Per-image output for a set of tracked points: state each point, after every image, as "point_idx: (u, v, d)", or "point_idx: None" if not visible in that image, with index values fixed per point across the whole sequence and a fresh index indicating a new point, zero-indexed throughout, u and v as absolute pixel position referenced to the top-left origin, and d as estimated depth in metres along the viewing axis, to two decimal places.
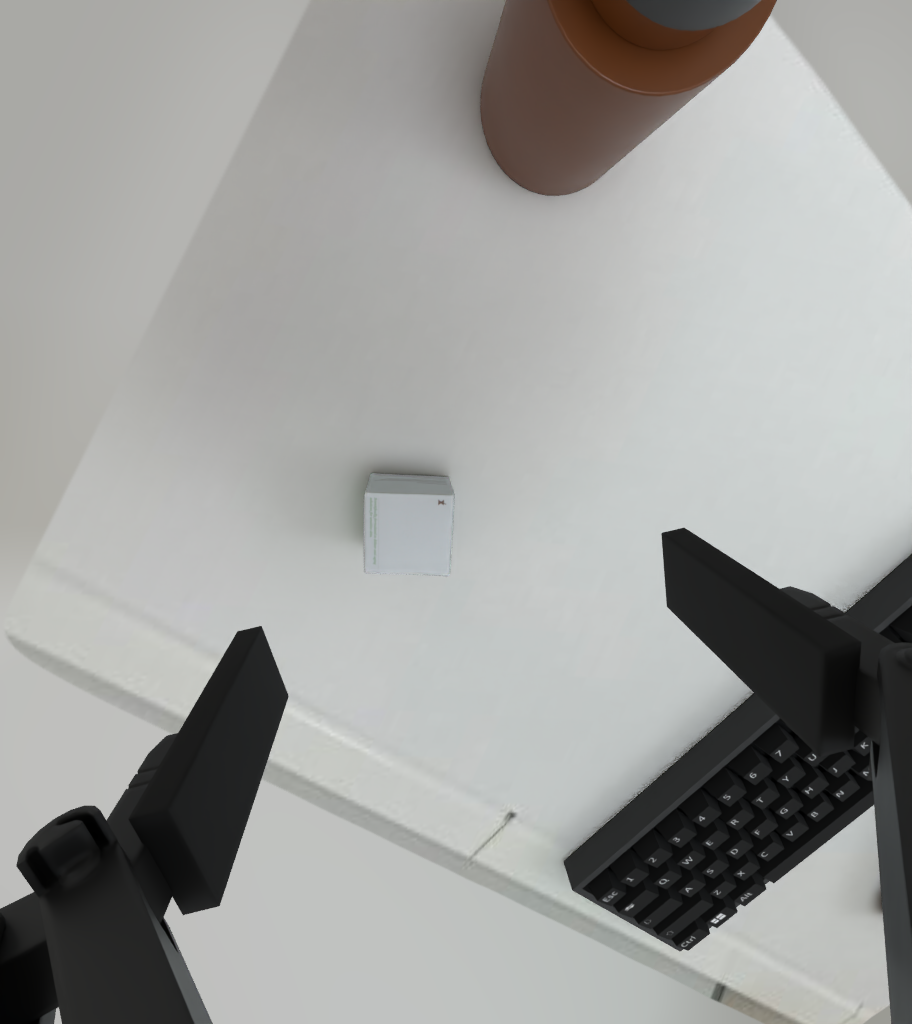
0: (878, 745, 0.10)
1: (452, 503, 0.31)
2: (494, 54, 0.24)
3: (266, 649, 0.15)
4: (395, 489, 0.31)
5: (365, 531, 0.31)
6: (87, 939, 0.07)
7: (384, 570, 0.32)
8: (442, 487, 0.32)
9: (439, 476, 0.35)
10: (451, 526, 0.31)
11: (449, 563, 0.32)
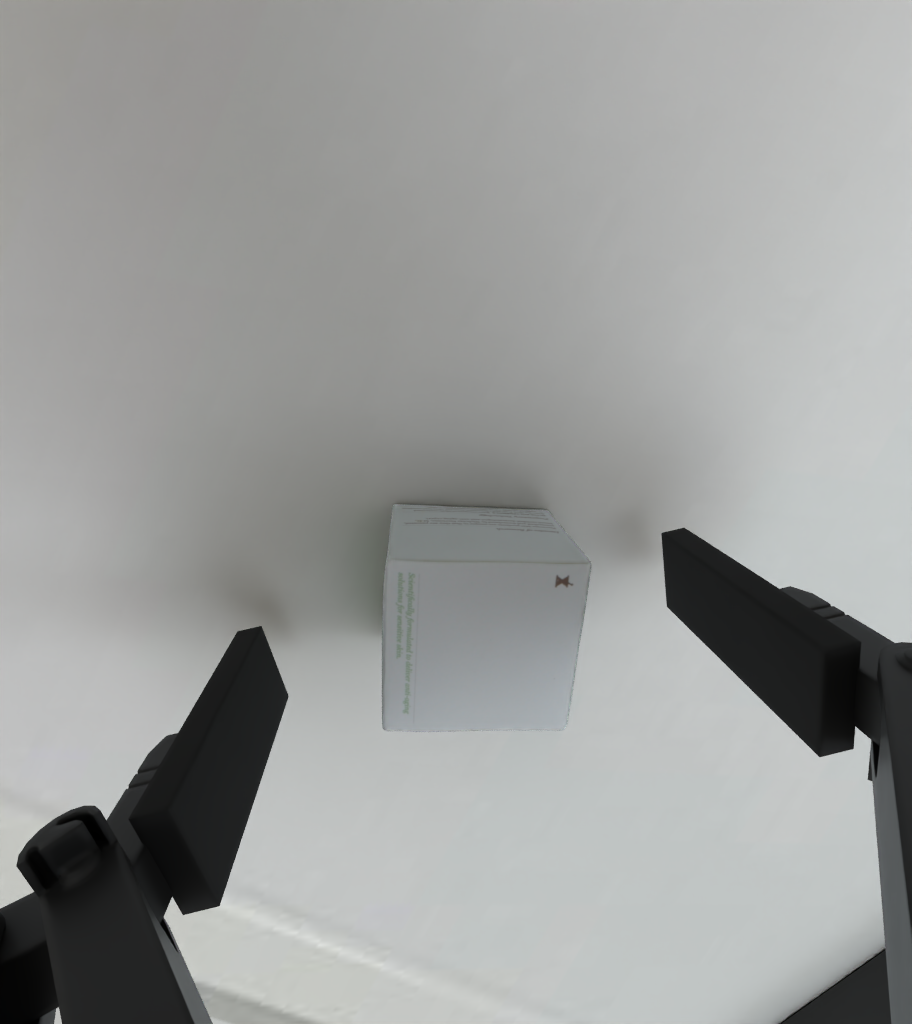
0: (878, 745, 0.10)
1: (586, 582, 0.13)
2: None
3: (266, 649, 0.15)
4: (456, 551, 0.13)
5: (386, 645, 0.14)
6: (87, 939, 0.07)
7: (427, 724, 0.14)
8: (554, 540, 0.15)
9: (529, 509, 0.18)
10: (579, 631, 0.14)
11: (568, 706, 0.15)
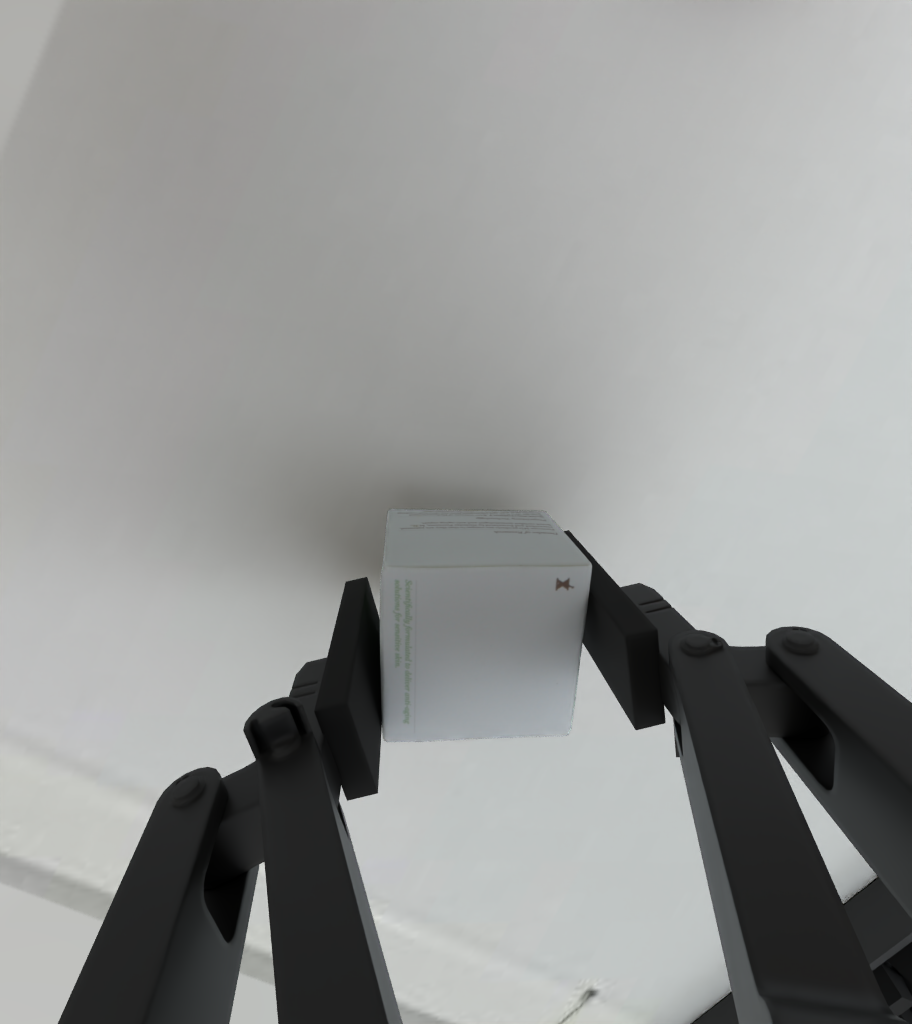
0: (679, 725, 0.11)
1: (587, 584, 0.13)
2: None
3: (371, 597, 0.17)
4: (453, 556, 0.13)
5: (384, 654, 0.13)
6: (286, 805, 0.09)
7: (428, 734, 0.14)
8: (553, 542, 0.14)
9: (526, 511, 0.17)
10: (581, 634, 0.14)
11: (571, 711, 0.14)
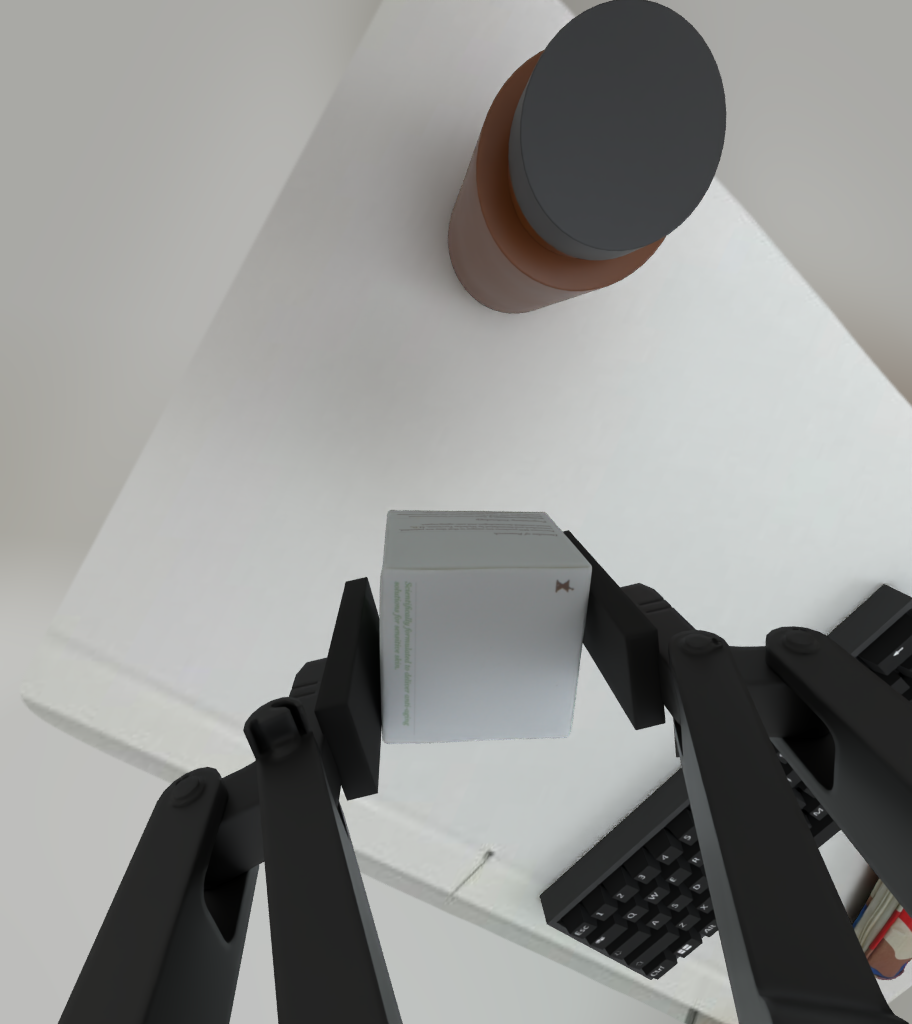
0: (679, 725, 0.11)
1: (587, 586, 0.13)
2: (455, 217, 0.28)
3: (371, 597, 0.17)
4: (453, 558, 0.13)
5: (384, 656, 0.13)
6: (285, 805, 0.09)
7: (428, 736, 0.14)
8: (553, 543, 0.14)
9: (526, 512, 0.17)
10: (581, 636, 0.14)
11: (571, 713, 0.14)
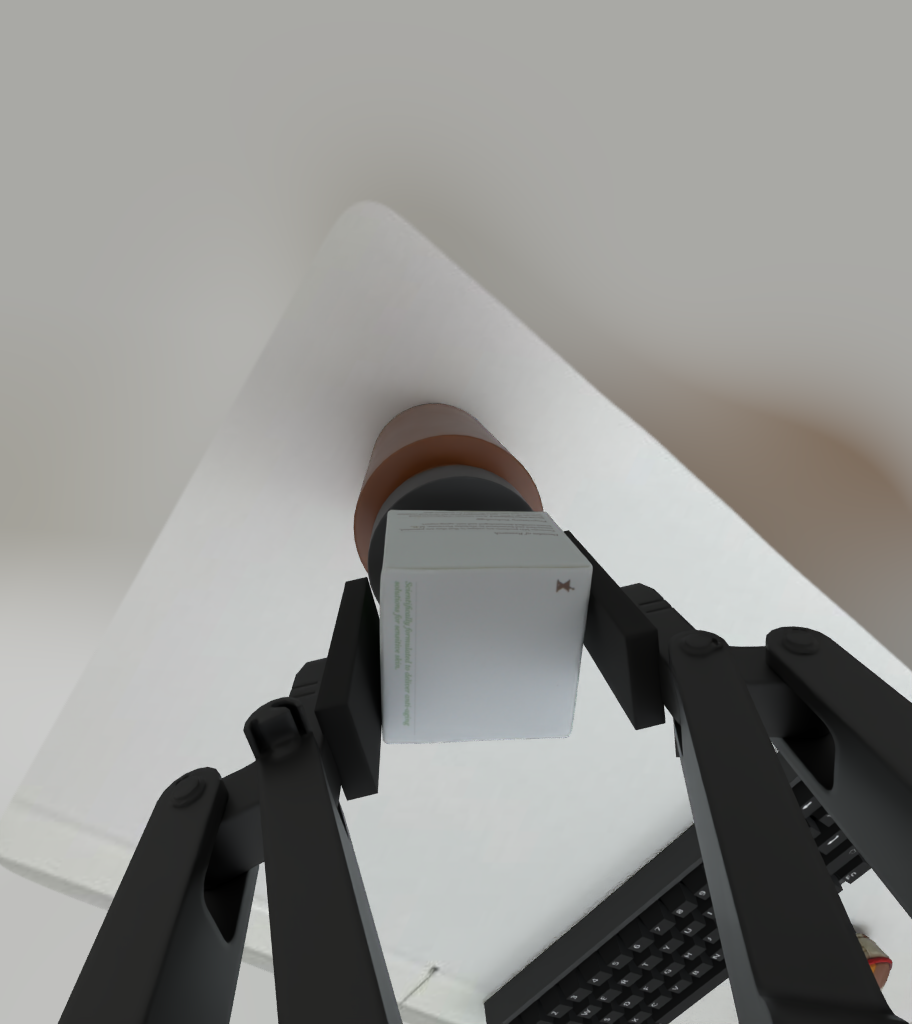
0: (679, 725, 0.11)
1: (588, 586, 0.13)
2: None
3: (371, 597, 0.17)
4: (454, 558, 0.13)
5: (384, 656, 0.13)
6: (286, 805, 0.09)
7: (428, 736, 0.14)
8: (554, 543, 0.14)
9: (527, 512, 0.17)
10: (582, 636, 0.14)
11: (572, 713, 0.14)
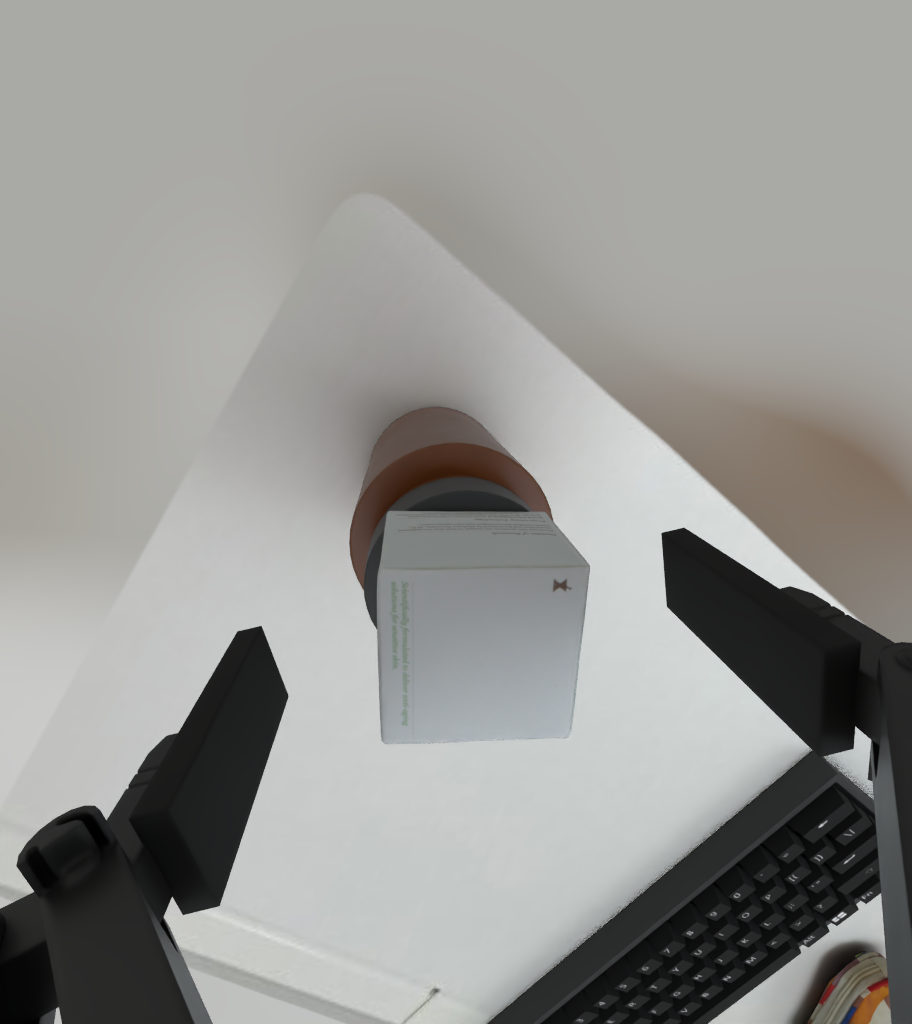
0: (878, 745, 0.10)
1: (585, 586, 0.13)
2: None
3: (266, 649, 0.15)
4: (450, 558, 0.13)
5: (382, 657, 0.13)
6: (87, 939, 0.07)
7: (427, 736, 0.14)
8: (551, 543, 0.14)
9: (526, 512, 0.17)
10: (580, 636, 0.14)
11: (571, 713, 0.14)
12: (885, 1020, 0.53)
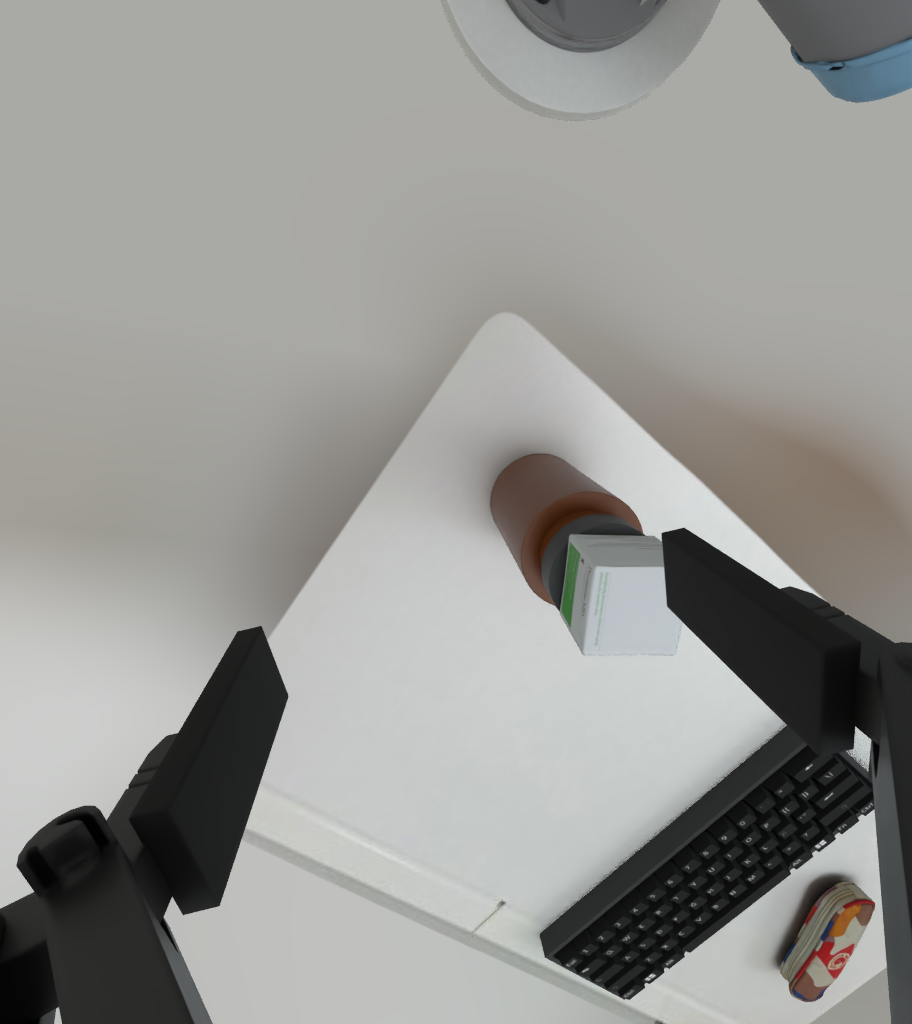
0: (878, 745, 0.10)
1: None
2: (499, 515, 0.43)
3: (266, 649, 0.15)
4: (625, 561, 0.27)
5: (590, 609, 0.27)
6: (87, 939, 0.07)
7: (605, 651, 0.28)
8: None
9: None
10: None
11: (677, 641, 0.28)
12: (856, 933, 0.66)
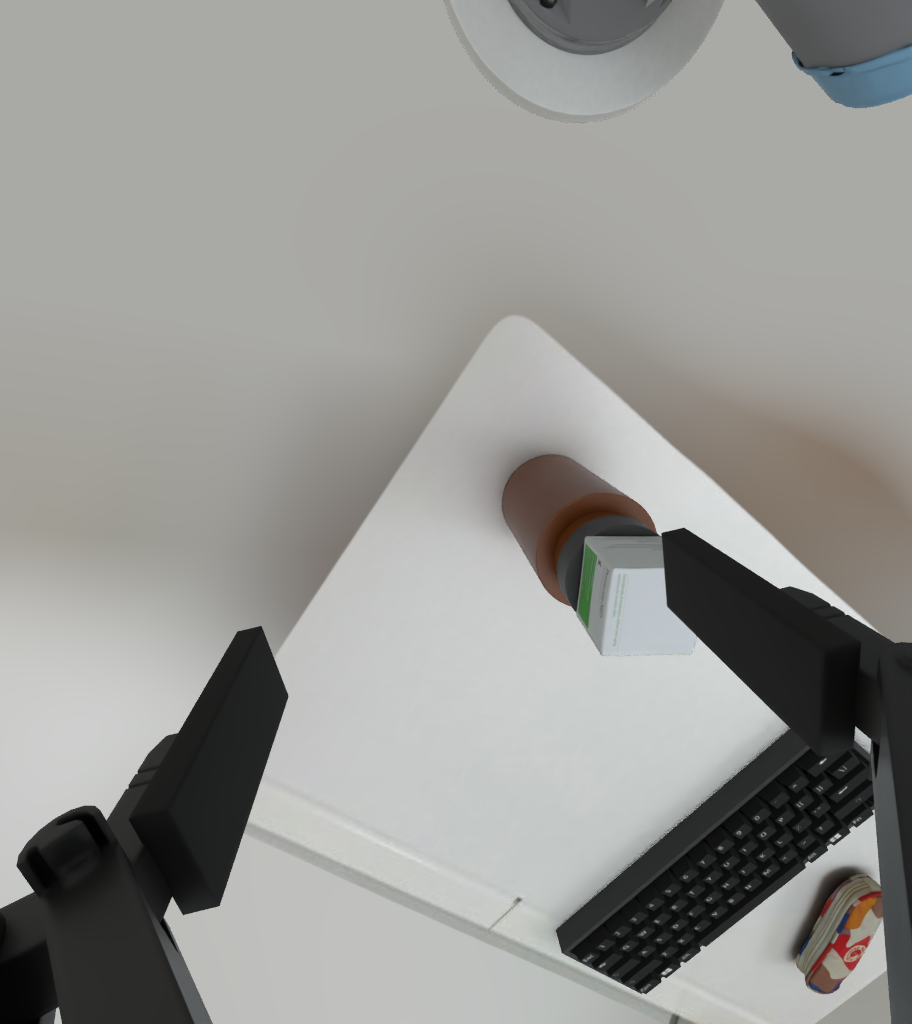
0: (878, 745, 0.10)
1: None
2: (512, 516, 0.43)
3: (266, 649, 0.15)
4: (642, 562, 0.27)
5: (608, 610, 0.27)
6: (87, 939, 0.07)
7: (624, 652, 0.28)
8: None
9: (658, 536, 0.31)
10: None
11: (695, 641, 0.28)
12: (872, 925, 0.67)
